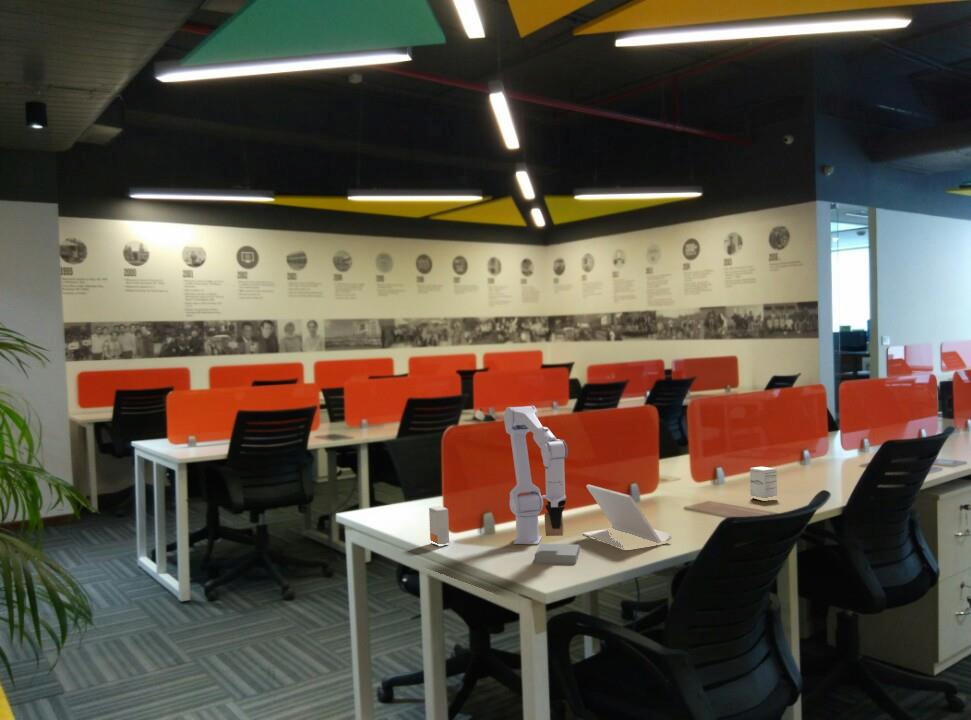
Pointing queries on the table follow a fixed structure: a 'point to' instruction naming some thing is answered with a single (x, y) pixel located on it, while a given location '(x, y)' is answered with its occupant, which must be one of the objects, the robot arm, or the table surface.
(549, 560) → the slate block
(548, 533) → the walnut block
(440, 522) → the skincare box
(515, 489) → the robot arm
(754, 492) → the supplement box
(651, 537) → the tablet stand
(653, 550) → the table surface
